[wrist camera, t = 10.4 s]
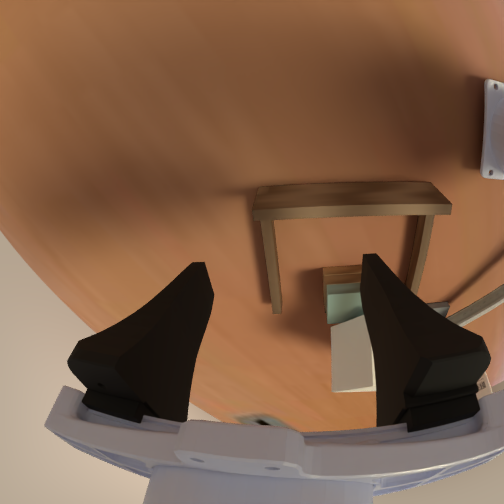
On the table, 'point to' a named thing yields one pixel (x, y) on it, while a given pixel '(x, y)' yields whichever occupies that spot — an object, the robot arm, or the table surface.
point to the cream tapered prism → (352, 357)
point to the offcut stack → (342, 293)
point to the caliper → (478, 307)
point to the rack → (348, 215)
